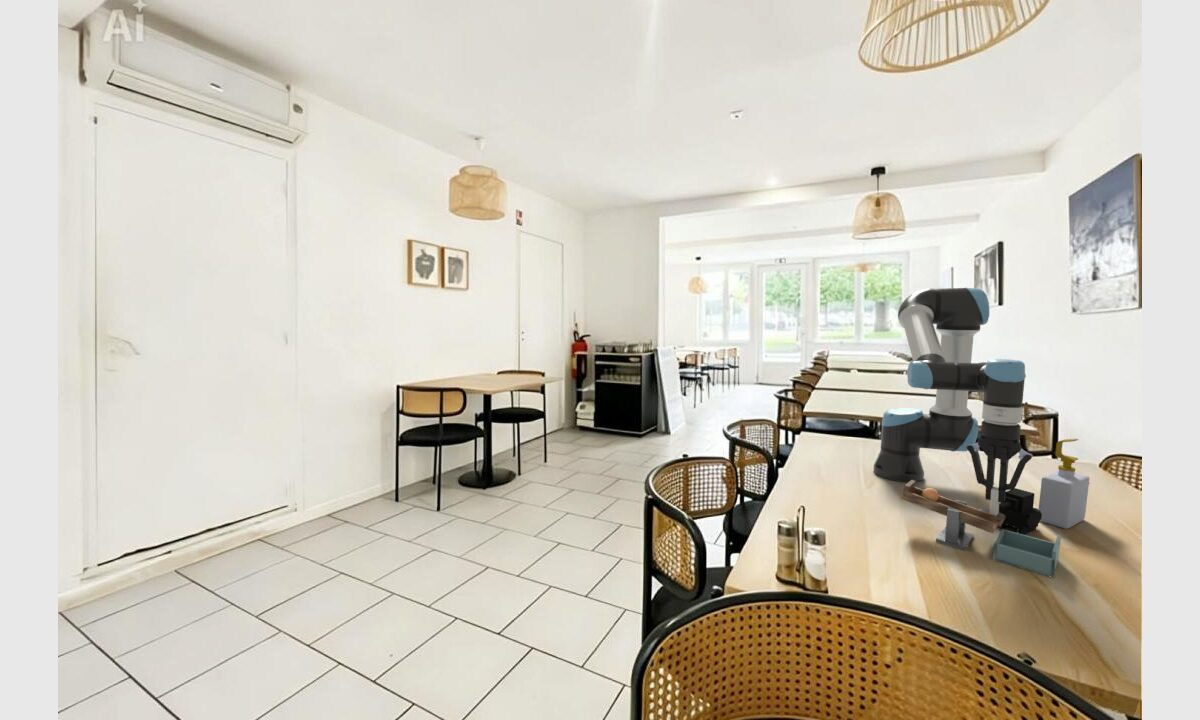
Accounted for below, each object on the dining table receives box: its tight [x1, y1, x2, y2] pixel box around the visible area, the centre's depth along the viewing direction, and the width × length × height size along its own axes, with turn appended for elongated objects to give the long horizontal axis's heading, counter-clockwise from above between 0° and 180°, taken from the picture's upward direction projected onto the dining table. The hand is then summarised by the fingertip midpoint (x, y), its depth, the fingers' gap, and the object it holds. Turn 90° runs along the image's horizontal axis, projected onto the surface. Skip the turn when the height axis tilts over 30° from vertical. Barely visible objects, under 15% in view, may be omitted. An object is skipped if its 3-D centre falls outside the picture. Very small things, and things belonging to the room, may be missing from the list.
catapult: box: [900, 480, 1005, 534], centre depth 127 cm, size 20×12×4 cm, turn 44°
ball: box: [922, 487, 940, 501], centre depth 128 cm, size 4×4×4 cm
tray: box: [992, 528, 1062, 578], centre depth 115 cm, size 11×11×6 cm
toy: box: [997, 487, 1042, 535], centre depth 130 cm, size 8×14×10 cm, turn 117°
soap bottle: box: [1038, 438, 1090, 529], centre depth 134 cm, size 12×7×23 cm, turn 119°
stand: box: [935, 499, 975, 552], centre depth 125 cm, size 6×10×9 cm, turn 133°
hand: (993, 513), depth 124 cm, fingers closed
